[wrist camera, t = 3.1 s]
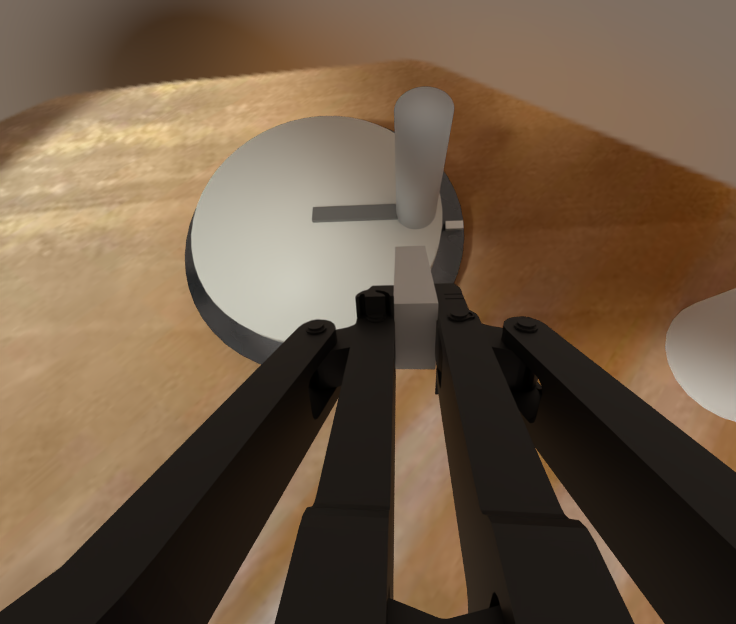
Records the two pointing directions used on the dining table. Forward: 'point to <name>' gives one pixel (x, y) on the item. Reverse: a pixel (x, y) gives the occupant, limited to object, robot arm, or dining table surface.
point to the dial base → (263, 347)
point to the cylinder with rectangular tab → (706, 352)
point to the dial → (321, 214)
